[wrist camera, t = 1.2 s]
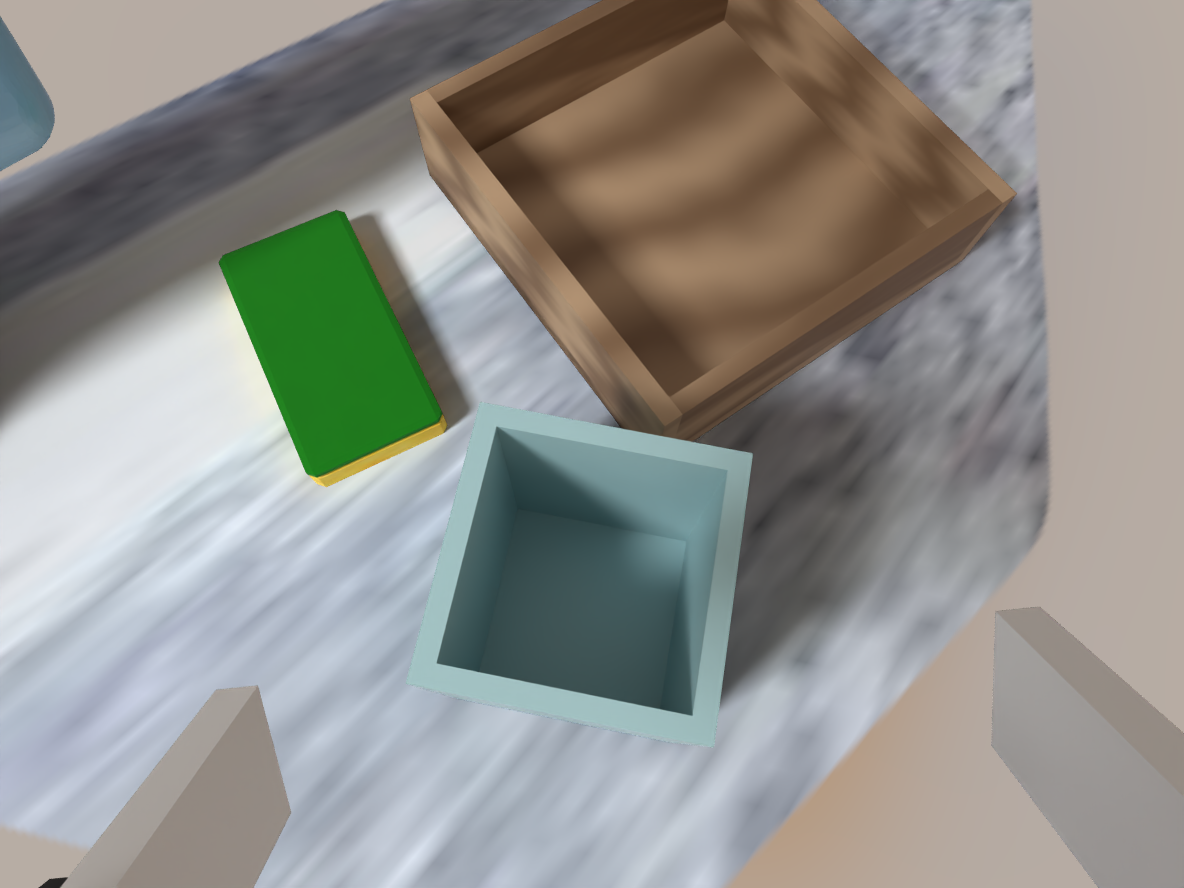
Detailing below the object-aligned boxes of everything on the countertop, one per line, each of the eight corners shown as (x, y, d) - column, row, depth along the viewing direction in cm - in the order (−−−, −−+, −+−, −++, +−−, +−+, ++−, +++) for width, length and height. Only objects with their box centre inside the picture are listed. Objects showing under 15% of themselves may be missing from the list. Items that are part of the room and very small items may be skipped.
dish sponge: (353, 232, 46) (341, 206, 44) (451, 433, 42) (444, 415, 39) (233, 280, 45) (215, 256, 42) (322, 492, 41) (307, 478, 38)
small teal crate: (457, 698, 37) (405, 683, 26) (506, 494, 40) (479, 401, 29) (670, 742, 36) (713, 747, 25) (702, 532, 40) (752, 453, 28)
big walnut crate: (429, 174, 47) (409, 98, 41) (724, 17, 51) (742, -72, 46) (652, 468, 41) (664, 426, 35) (962, 260, 45) (1016, 193, 40)
